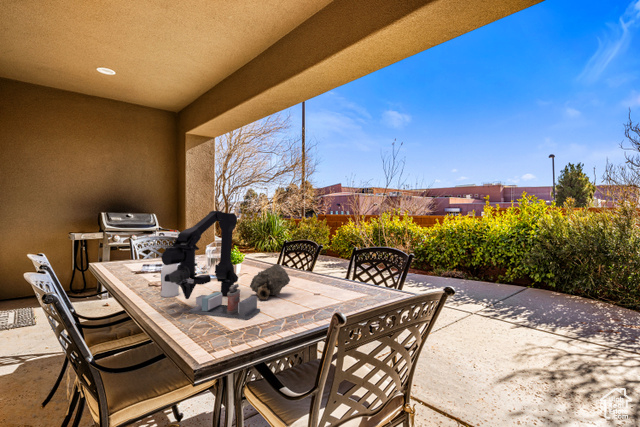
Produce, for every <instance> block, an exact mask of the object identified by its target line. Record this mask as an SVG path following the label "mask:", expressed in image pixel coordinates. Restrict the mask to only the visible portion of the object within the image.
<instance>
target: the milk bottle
mask: <svg viewBox="0 0 640 427" xmlns="http://www.w3.org/2000/svg"><path fill="white" fill-rule="evenodd" d="M162 265H163V266H162V267H161V270H160V272H161V273H160V296H161V297H163V298H172V297H177V296H178V295H179V292H180V291H179V289H180V288H179V287H180V286H179V285H178V284H176V283H171V282H165V281H164V277H165V276H166V274H170V273H172V272H174V271H175V270H177V266H178V263H177V264H171V265H165V264H164V263H163V264H162Z"/></svg>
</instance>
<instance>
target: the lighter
mask: <svg viewBox="0 0 640 427" xmlns="http://www.w3.org/2000/svg"><path fill="white" fill-rule="evenodd" d="M226 297H227V303H226V305H227V313H229V314H230V313H234V312H236V311H238V303H239V302H241V289H239V283H234V285H231V287H230V292H228V293H227V296H226Z"/></svg>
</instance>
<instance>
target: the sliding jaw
mask: <svg viewBox="0 0 640 427" xmlns="http://www.w3.org/2000/svg"><path fill="white" fill-rule="evenodd" d="M195 305H196V306H199V305H202V311H209V310H211V309H213V308H215V307H217V306H219V305H223V295H222V292H221V291H215V292H213V293H211V294H208V295H207V294H201V295H199V296H196V297H195Z"/></svg>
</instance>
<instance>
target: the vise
mask: <svg viewBox="0 0 640 427" xmlns="http://www.w3.org/2000/svg"><path fill="white" fill-rule="evenodd" d="M188 311H189V313H188V314H195V315H196V314H197V315H204V316H212V317H221V318H230V319H238V320H245V321H246V320H247V321H248V320H250V319H251V318H253V317H255V316H256V315H258V314H259V313H261V308H258V295H250V296H248V297H246V298H244V299H242V300H240V302H239V303H238V311H236V312H234V313H230V314H229V313H227V304H221V305H219V306H217V307H215V308H213V309H211V310H209V311H202V305H196V306H195V307H192V308H191V309H189V310H188Z"/></svg>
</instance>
